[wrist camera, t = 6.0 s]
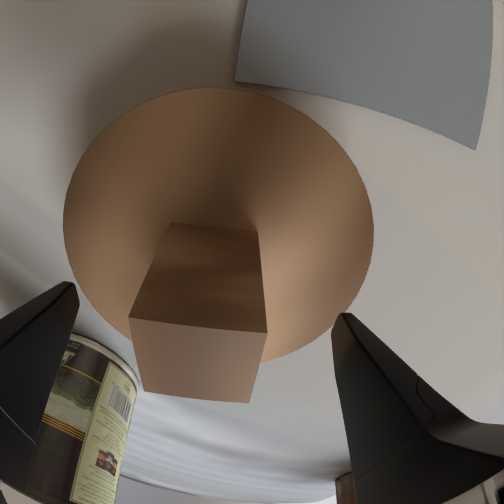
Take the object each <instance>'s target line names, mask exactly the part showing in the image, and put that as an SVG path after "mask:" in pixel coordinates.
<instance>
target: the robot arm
mask: <svg viewBox="0 0 504 504" xmlns="http://www.w3.org/2000/svg"><path fill="white" fill-rule="evenodd" d="M79 304H80V303H79V298H78V294H77V290H76V286H75V284H74V283H72V282H67V281H63V282H61V283H60V284H58V285H56V286H54V287H53V288H51V289H49V290H47V291H46V292H44V293H42V294H41V295H39V296H37V297H36V298H34V299H32V300H31V301H29V302H27V303H26V304H24V305H22V306H21V307H19V308H17V309H16V310H14V311H13V312H11V313H9V314H8V315H6V316H5V317H3V318H1V319H0V486H1V482H2V481H3V482H5V483H7V484H8V485H10V486H12V487H14V488H15V489H17V490H19V491H21V492H23V493H24V494H26V491H27V486H28V480H29V474H30V469H31V464H32V459H33V455H34V450H35V446H36V444H35V443H36V441H37V437H38V433H39V430H40V426H41V422H42V419H43V415H44V412H45V408H46V405H47V402H48V399H49V396H50V393H51V389H52V386H53V384H54V381H55V378H56V375H57V372H58V369H59V367H60V364H61V361H62V359H63V356H64V353H65V351H66V348H67V345H68V343H69V339H70V336H71V332H72V329H73V326H74V322H75V319H76V316H77V313H78V310H79ZM331 340H332V350H333V361H334V371H335V378H336V383H337V388H338V393H339V398H340V403H341V408H342V414H343V419H344V424H345V430H346V436H347V442H348V447H349V454H350V460H351V466H352V473H353V479H354V480H355V481H354V487H355V495H356V502H357V504H504V425H500V424H487V423H480V422H477V421H474V420H472V419H470V418H469V417H467V416H466V415H465V414H464V413H462V412H461V411H460V410H459V409H457V408H456V407H455V406H454V405H452V404H451V403H450V402H449V401H447V400H446V399H445V398H444V397H442V396H441V395H440V394H439V393H438V392H436V391H435V390H434V389H433V388H432V387H431V386H430V385H429V384H427V383H426V382H425V381H424V380H423V379H422V378H421V377H420V376H419V375H418V376H417V373H416V372H415V371H414V370H412V369H411V368H410V367H409V366H408V365H407V364H406V363H405V362H404V361H403V360H402V359H401V358H400V357H399V356H398V355H396V354H395V353H394V352H393V351H392V350H391V349H390V348H389V347H388V346H387V345H386V344H385V343H384V342H382V341H381V340H380V339H379V338H378V337H377V336H376V335H375V334H374V333H373V332H372V331H371V330H369V329H368V328H367V327H366V326H365V325H364V324H363V323H362V322H361V321H360V320H358V319H357V318H356V317H355V316H354V315H353V314H352V313H343V312H342V313H339V315H338V317H337V319H336V321H335V324H334V326H333V328H332V331H331ZM0 504H7V502H6V500H5V498H4V496H3V493H2V491H1V490H0Z"/></svg>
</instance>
